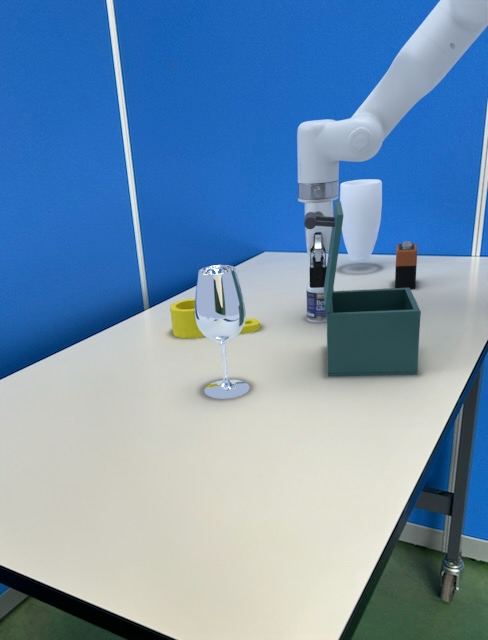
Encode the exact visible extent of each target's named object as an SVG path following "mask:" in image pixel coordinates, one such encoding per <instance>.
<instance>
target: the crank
mask: <svg viewBox="0 0 488 640" xmlns="http://www.w3.org/2000/svg"><path fill="white" fill-rule="evenodd" d="M169 310H170V318H171V319H170V320H171V327H172V334H173V336H174V337H177V338H182V339H195V338H196V339H197V338H198V339H199V338H207V337H206V336H204V335H203V334H202V332H201V331H200V330H199V328H198V326H197V323H196V318H195V298H188V299H182V300H178V301H176V302H173V303H172V304H171V305H170V306H169ZM259 330H261V321H260V320H259V319H257V318H247V317H246V320H245V324H244V326H243V328H242V330H241V332H240V333H239V334H249V333H254V332H257V331H259Z"/></svg>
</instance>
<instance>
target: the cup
mask: <svg viewBox="0 0 488 640" xmlns="http://www.w3.org/2000/svg"><path fill="white" fill-rule="evenodd" d="M339 188H340V189H339V191H340V192H339V201H341V206H342V211H343V223H342V230H341V234H342V238H343V243H344V245H345V248H346V252H347V254H348V257H349V259H350V261H353V262H364V261H368V260H370V258H371V256H372V254H373V251H374V249H375V246H376V243H377V241H378V235H379V230H380V226H381V222H382V221H381V220H382V208H383V182H382V180H381V179H378V178H377V179H376V178H373V179H372V178H369V179H368V178H367V179H365V178H364V179H355V180H354V179H353V180H348V181H343V182H342V183H340V185H339Z"/></svg>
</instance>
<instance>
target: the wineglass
mask: <svg viewBox="0 0 488 640" xmlns="http://www.w3.org/2000/svg"><path fill="white" fill-rule="evenodd" d="M194 299H195V318H196V323H197V326H198V328H199V330H200V331H201V332H202V334H203V335H204V336H206V337H205V338H207V339H208V340H210V341H213V342H216V343H218V345H219V348H220V352H221V361H222V364H221V365H222V373H223V377H222V380H217V381H214V382H211V383H209V384H208V385H206V386H205V387H204V391H203V392H204V394H205V395H206V396H208V397H210V398H213V399H221V400H225V399H227V400H229V399H234V398H237V397H241V396H243V395H245V394H247V393H248V392H249V390H250V385H249V384H248V383H247V382H246V381H243V380H239V379H230V378H229V374H228V373H229V371H228V362H227V344H228V342H230V341H231V340H233V339H235V338H236V337H237V336H238V335H239V334H241V333H240V332H241V330H242V328H243V326H244V324H245V320H246V318H247V317H246V316H247V311H246V304H245V299H244V294H243V291H242V288H241V282H240V280H239V276H238V274H237V270H236V267H235V266H233V265H229V264H217V265H210V266H206V267H202V268H200V269H199V270H198V272H197V280H196V287H195V298H194Z"/></svg>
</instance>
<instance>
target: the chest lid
mask: <svg viewBox="0 0 488 640" xmlns="http://www.w3.org/2000/svg"><path fill="white" fill-rule="evenodd" d="M334 201H335V202H334V207H333V217H325V216H316V214H315V213H314V212H308V213H307V214H306V215H305V214H304V224H303V225H304V228H305V227H306V228H307V229H313V228H314V227H315V226H325V227H332V231H331V238H330V246H329V253H328V254H327V260H326V266H327V269H326V276H325V284H324V310H325V312H330V309H331V301H332V294H333V287H334V286H335V281H336V273H337V272H336V271H337V266H338V264H337V263H338V257H339V250H340V243H341V235H342V223H343V211H342V206H341V201H340V200H334ZM334 288H335V287H334Z"/></svg>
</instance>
